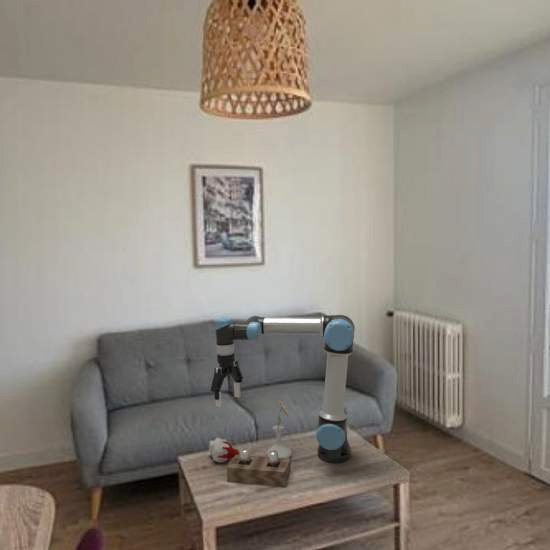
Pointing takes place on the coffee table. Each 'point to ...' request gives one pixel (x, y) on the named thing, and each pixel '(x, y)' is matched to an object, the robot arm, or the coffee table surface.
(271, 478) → the walnut block
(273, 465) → the steel peg
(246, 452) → the steel peg
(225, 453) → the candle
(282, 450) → the flower in vase
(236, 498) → the coffee table surface
